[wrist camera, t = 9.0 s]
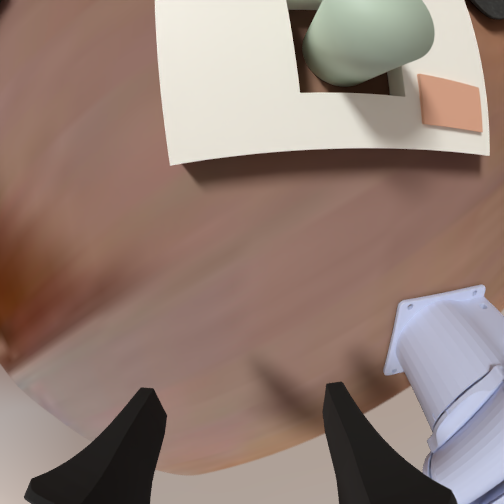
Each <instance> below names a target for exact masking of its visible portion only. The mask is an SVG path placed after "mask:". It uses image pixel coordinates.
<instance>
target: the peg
mask: <svg viewBox="0 0 504 504" xmlns="http://www.w3.org/2000/svg"><path fill="white" fill-rule="evenodd" d="M434 37H435V29H434V24H433V20H432V17H431V15H430V12H429V10H428V9H427V7H426V5H425V4H424V2H423V1H422V0H323V1H322V3H321V5H320V7H319V9H318V11H317V13H316V15H315V17H314V19H313V21H312V23H311V25H310V27H309V29H308V31H307V33H306V35H305V37H304V39H303V43H302V53H303V57H304V60H305V62H306V64H307V66H308V67H309V69H310V70H311V71H312V72H313V73H314V74H315V75H316V76H317V77H319V78H320V79H322V80H323V81H325V82H327V83H329V84H332V85H335V86H341V87H350V86H355V85H358V84H360V83H363V82H365V81H367V80H369V79H372V78H374V77H376V76H378V75H381V74H383V73H385V72H388V71H390V70H393V69H395V68H397V67H400V66H402V65H405V64H407V63H410V62H413V61H415V60H418V59H420V58H422V57H423V56H425V55H426V54H427V53H428V52H429V51H430V49H431V47H432V45H433V42H434Z"/></svg>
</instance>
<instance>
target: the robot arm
mask: <svg viewBox="0 0 504 504" xmlns="http://www.w3.org/2000/svg"><path fill="white" fill-rule="evenodd" d="M485 289H486V288H485V286H484V285H477V286H473V287H468V288H464V289H459V290H455V291H450V292H445V293H440V294H435V295H430V296H424V297H419V298H413V299H408V300H403V301H401V302H400V303H399V304H398V307H397V313H396V318H395V323H394V328H393V333H392V337H391V342H390V346H389V350H388V354H387V358H386V362H385V366H384V370H383V372H384V374H385V375H392V374H396V373H401V372H405V374H406V376H407V378H408V380H409V382H410V384H411V386H412V388H413V390H414V392H415V395H416V397H417V399H418V401H419V403H420V405H421V407H422V410H423V412H424V414H425V416H426V418H427V421H428V423H429V425H430V427H431V430H432V432H433V434H432V435H431V437H430V438H429V439H428V440H427V443H428V445H429V448H430V450H431V452H430V453H429V454H428V455H427V457H426V459H425V462H424V465H423V473H422V472H420V471H419V470H418V469H416V468H415V467H414V466H413V465H411V464H410V463H408V462H407V461H406V460H405V459H404V458H403V457H401V456H400V455H399V454H398V453H397V452H396V451H395V450H394V449H393V448H392V447H391V446H389V444H388V443H387V442H386V441H385V440H384V439H383V438H382V437H381V436H380V435H379V433H378V432H377V431H376V430H375V429H374V428H373V426H372V425H371V424H370V423H369V421H368V420H367V419H366V418H365V416H364V415H363V413H362V412H361V411H360V409H359V408H358V406H357V405H356V403H355V402H354V400H353V399H352V397H351V396H350V394H349V392H348V391H347V389H346V387H345V385H344V384H343V383H342V382H336V383H329V384H326V391H325V398H324V405H323V419H324V427H325V434H326V438H327V441H328V446H329V450H330V454H331V458H332V462H333V466H334V470H335V474H336V480H337V487H338V496H339V504H504V316H503V315H502V314H501V313H500V312H499V311H498V310H497V309H496V308H495V307H494V306H493V305H492V304H491V303H490V302H489V301H488V300H487V299H486V298H485V297H484V293H485ZM410 304H411V305H410ZM409 305H410V306H409ZM408 306H409V307H408ZM166 419H167V414H166V412H165V411H164V409H163V407H162V405H161V403H160V401H159V399H158V397H157V395H156V393H155V391H154V389H153V388H140V389H139V390H138V392H137V393H136V394H135V395H134V396H133V398H132V399H131V400H130V401H129V402H128V404H127V405H126V406H125V407H124V409H123V410H122V411H121V412H120V413H119V414H118V416H117V417H116V418H115V419H114V420H113V421H112V422H111V424H110V425H109V426H108V427H107V428H106V429H105V430H104V431H103V432H102V433H101V434H100V435H99V436H98V437H97V438H96V439H95V440H94V441H93V442H92V443H91V444H90V445H88V446H87V447H86V448H85V449H83V450H82V451H81V452H79V453H78V454H77V455H76V456H74V457H73V458H71V459H70V460H68V461H67V462H65V463H63V464H62V465H60V466H58V467H57V468H55V469H53V470H51V471H49V472H47V473H44V474H42V475H40V476H37V477H35V478H32V479H31V481H30V483H29V486H28V488H27V491H26V493H25V496H24V498H25V500H27V501H28V502H30V503H31V504H150V496H151V488H152V480H153V476H154V471H155V468H156V464H157V460H158V457H159V453H160V450H161V446H162V442H163V438H164V434H165V427H166Z"/></svg>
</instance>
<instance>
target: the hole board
mask: <svg viewBox="0 0 504 504" xmlns="http://www.w3.org/2000/svg"><path fill="white" fill-rule="evenodd" d="M322 1H323V0H155V17H156V38H157V53H158V66H159V77H160V88H161V98H162V107H163V116H164V124H165V132H166V139H167V147H168V154H169V161H170V165H176V164H182V163H188V162H195V161H201V160H208V159H215V158H223V157H231V156H240V155H249V154H259V153H270V152H282V151H296V150H313V149H340V148H395V149H420V150H437V151H449V152H460V153H470V154H479V155H487V156H490V145H489V121H488V108H487V98H486V90H485V83H484V76H483V70H482V65H481V59H480V55H479V50H478V45H477V41H476V37H475V33H474V30H473V26H472V22H471V19H470V16H469V13H468V9H467V6H466V4H465V1H464V0H422V1H423V2H424V4H425V5H426V7H427V9H428V10H429V12H430V15H431V17H432V20H433V24H434V29H435V37H434V42H433V45H432V47H431V49H430V51H429V52H428V53H427V54H426V55H425V56H423V57H422V58H420V59H418V60H415V61H413V62H410V63H407V64H405V65H402V66H400V67H397V68H395V69H393V70H390V71H388V72H387V75H388V83H389V91H390V95H379V94H363V93H300V87H299V79H298V72H297V64H296V57H295V50H294V43H293V37H292V31H291V25H290V19H289V13H288V10H318V9H319V7H320V5H321V3H322Z"/></svg>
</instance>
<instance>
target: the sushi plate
mask: <svg viewBox="0 0 504 504" xmlns="http://www.w3.org/2000/svg"><path fill="white" fill-rule="evenodd" d="M470 1H471V2H472V3H473V4H474V5H475V6H476V7H477V8H478V9H479V10H480V11H481V12H482V13H483V14H484V15H486V16H487V17H489V18H492V19H496V20H499V19H504V0H470Z"/></svg>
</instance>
